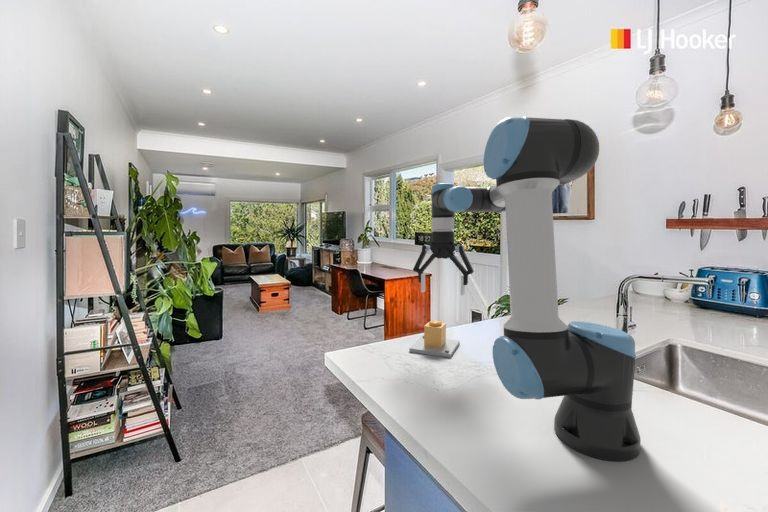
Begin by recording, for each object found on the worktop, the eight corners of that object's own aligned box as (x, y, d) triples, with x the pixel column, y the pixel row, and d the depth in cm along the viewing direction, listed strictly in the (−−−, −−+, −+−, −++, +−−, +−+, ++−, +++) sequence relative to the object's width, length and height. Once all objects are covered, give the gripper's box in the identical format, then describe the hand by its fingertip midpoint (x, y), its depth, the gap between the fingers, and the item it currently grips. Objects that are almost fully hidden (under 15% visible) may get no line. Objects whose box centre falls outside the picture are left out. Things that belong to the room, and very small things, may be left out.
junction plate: (450, 357, 116) (450, 339, 115) (409, 351, 121) (409, 333, 121) (459, 343, 129) (459, 327, 128) (422, 338, 134) (422, 322, 134)
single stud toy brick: (441, 348, 121) (441, 325, 120) (424, 345, 124) (424, 323, 123) (445, 342, 127) (445, 320, 126) (429, 340, 129) (429, 319, 128)
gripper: (482, 230, 119) (481, 293, 121) (411, 230, 129) (411, 288, 131) (479, 231, 112) (478, 298, 114) (403, 230, 122) (404, 292, 124)
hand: (442, 293), depth 123 cm, fingers open, 13 cm apart
